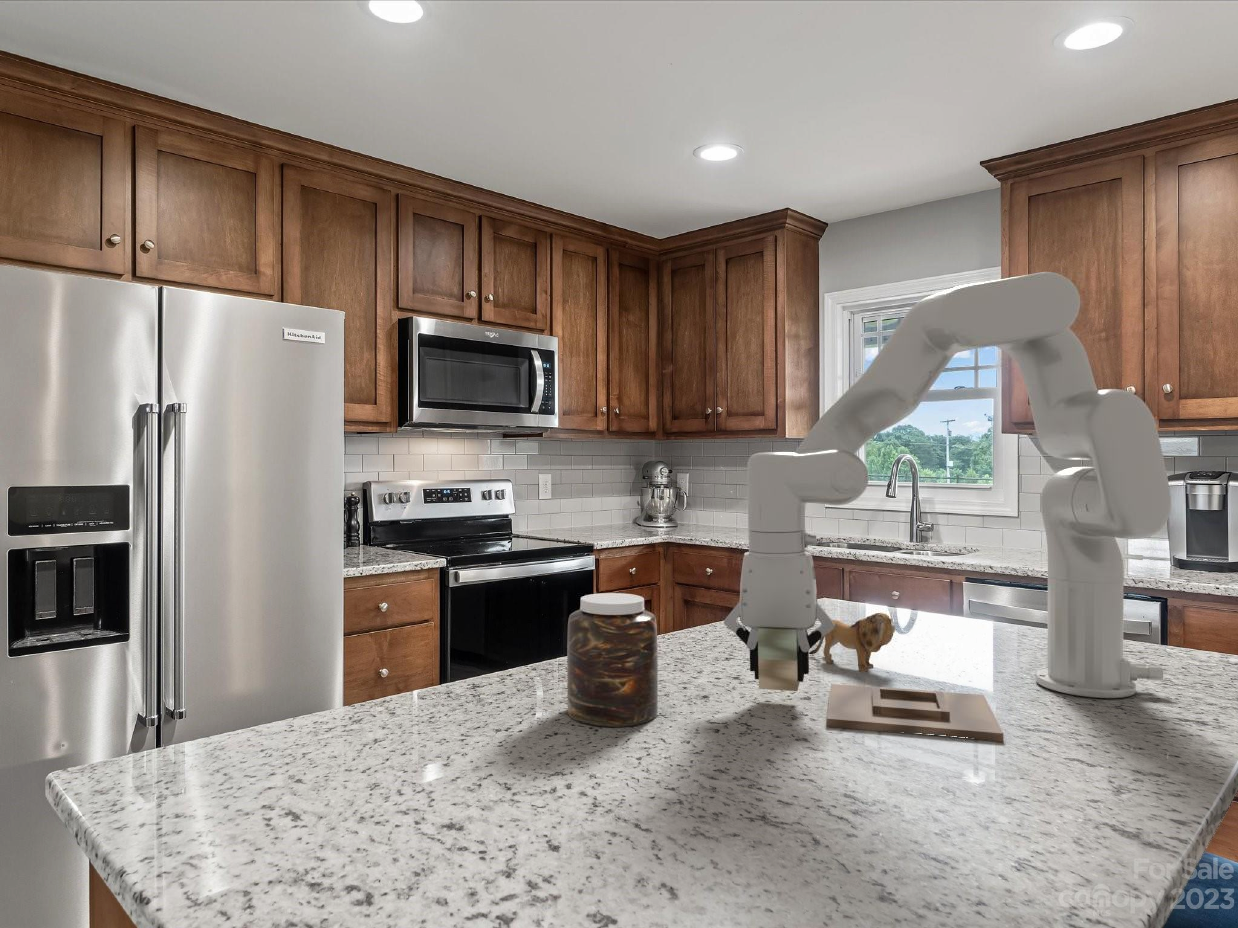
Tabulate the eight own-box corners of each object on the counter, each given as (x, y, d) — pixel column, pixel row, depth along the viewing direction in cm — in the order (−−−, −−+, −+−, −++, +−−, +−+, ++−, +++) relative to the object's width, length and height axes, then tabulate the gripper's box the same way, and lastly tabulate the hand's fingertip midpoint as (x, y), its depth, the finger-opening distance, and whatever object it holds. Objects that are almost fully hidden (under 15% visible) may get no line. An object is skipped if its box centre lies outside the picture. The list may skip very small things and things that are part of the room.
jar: (659, 700, 113) (659, 591, 113) (655, 729, 101) (655, 607, 101) (574, 698, 114) (574, 590, 114) (560, 726, 102) (559, 605, 102)
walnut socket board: (983, 702, 112) (983, 687, 112) (1003, 741, 96) (1003, 724, 96) (831, 690, 117) (831, 676, 117) (826, 726, 102) (826, 710, 102)
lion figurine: (900, 669, 129) (900, 612, 129) (884, 676, 125) (885, 617, 125) (816, 654, 139) (816, 600, 139) (799, 660, 135) (800, 605, 135)
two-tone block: (799, 680, 113) (798, 622, 113) (797, 690, 109) (796, 630, 108) (763, 678, 115) (761, 621, 115) (759, 688, 110) (757, 628, 110)
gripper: (842, 541, 113) (845, 673, 113) (718, 540, 117) (721, 667, 118) (841, 547, 105) (844, 689, 106) (709, 546, 110) (712, 682, 110)
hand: (779, 676), depth 112 cm, fingers closed on two-tone block, 5 cm apart
